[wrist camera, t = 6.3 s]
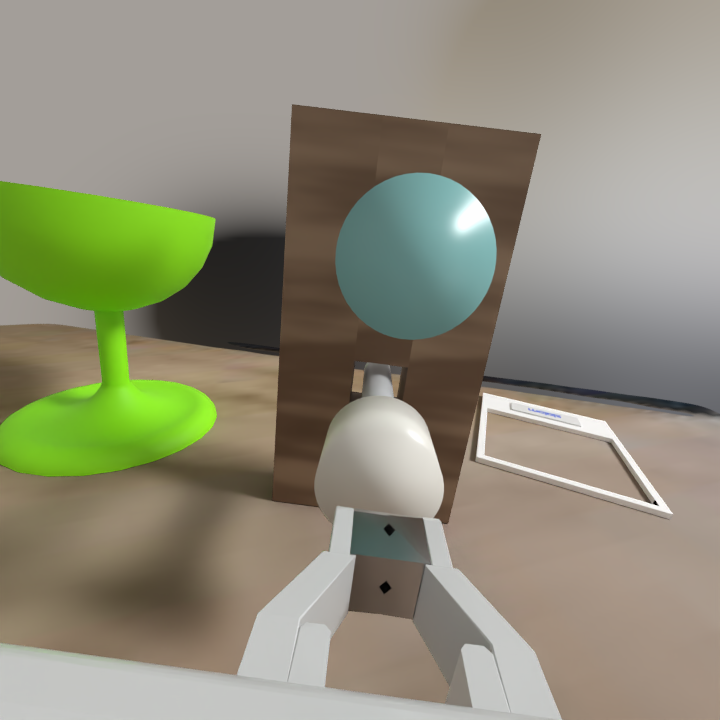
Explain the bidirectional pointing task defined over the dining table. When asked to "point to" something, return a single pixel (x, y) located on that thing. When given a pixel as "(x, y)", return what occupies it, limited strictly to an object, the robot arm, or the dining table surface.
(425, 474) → the knob lower
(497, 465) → the photo frame
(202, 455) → the dining table surface
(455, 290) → the knob upper
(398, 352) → the block
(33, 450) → the wineglass
